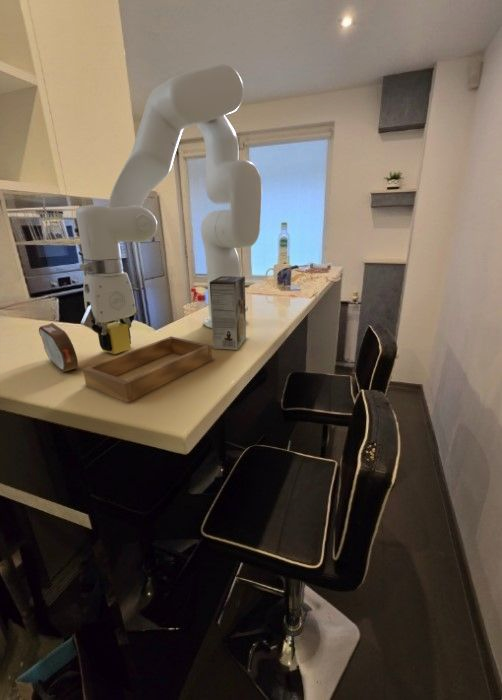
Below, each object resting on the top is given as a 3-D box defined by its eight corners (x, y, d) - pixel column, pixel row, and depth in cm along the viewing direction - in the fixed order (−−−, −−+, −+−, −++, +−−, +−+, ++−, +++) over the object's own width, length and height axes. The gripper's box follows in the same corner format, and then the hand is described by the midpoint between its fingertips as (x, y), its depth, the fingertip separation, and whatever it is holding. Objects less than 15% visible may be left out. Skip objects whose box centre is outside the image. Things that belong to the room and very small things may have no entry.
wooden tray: (172, 350, 78) (171, 336, 76) (211, 360, 72) (211, 345, 70) (86, 385, 60) (82, 368, 59) (128, 403, 54) (125, 384, 53)
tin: (81, 373, 66) (73, 333, 63) (64, 378, 63) (55, 337, 60) (59, 354, 76) (50, 319, 73) (43, 358, 74) (34, 322, 71)
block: (119, 345, 80) (115, 321, 78) (131, 348, 78) (127, 324, 76) (102, 350, 77) (98, 326, 75) (114, 354, 75) (110, 329, 73)
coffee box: (223, 337, 87) (220, 275, 81) (246, 338, 85) (245, 276, 80) (212, 348, 78) (208, 281, 73) (238, 350, 77) (236, 282, 71)
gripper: (76, 272, 62) (93, 361, 69) (146, 265, 76) (155, 339, 82) (55, 270, 66) (73, 354, 73) (125, 263, 80) (135, 334, 86)
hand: (116, 345), depth 77 cm, fingers closed on block, 4 cm apart
